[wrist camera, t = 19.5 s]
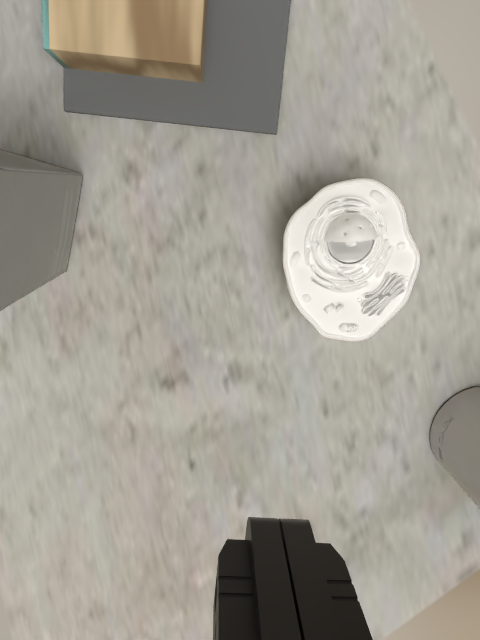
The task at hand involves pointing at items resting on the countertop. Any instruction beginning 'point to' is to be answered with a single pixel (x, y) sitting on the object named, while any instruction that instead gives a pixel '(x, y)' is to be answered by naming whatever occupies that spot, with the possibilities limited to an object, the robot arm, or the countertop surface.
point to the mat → (218, 76)
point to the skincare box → (34, 223)
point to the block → (128, 36)
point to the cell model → (350, 258)
